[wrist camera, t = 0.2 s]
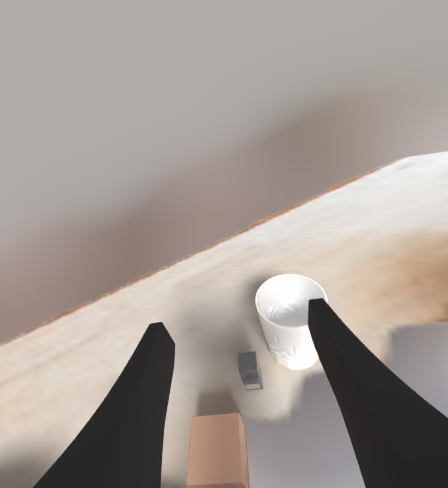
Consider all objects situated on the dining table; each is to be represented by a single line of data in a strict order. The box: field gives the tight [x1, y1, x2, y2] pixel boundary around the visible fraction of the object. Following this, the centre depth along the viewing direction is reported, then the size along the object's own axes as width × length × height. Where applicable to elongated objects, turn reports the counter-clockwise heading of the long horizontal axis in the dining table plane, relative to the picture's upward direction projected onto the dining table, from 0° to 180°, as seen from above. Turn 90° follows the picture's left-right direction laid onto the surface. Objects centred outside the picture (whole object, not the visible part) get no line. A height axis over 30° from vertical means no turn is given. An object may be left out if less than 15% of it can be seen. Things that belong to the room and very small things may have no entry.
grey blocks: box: [239, 352, 263, 390], centre depth 22 cm, size 16×2×5 cm, turn 0°
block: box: [186, 412, 249, 488], centre depth 23 cm, size 5×5×4 cm
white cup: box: [255, 274, 328, 370], centre depth 29 cm, size 8×8×10 cm
